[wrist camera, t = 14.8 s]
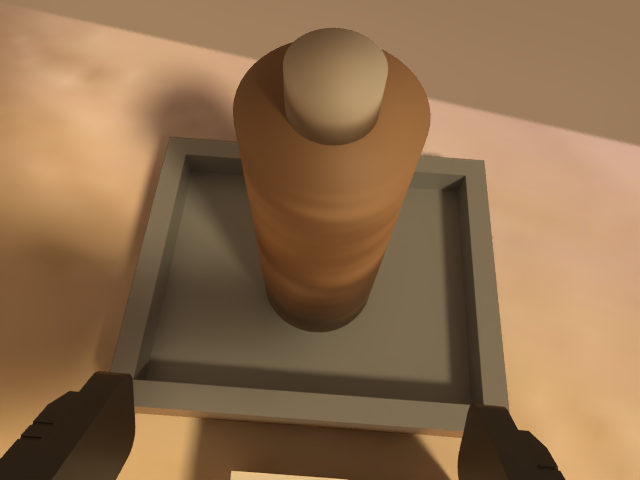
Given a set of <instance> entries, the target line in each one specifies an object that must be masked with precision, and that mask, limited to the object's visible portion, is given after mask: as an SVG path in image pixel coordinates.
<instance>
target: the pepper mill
mask: <svg viewBox="0 0 640 480" xmlns="http://www.w3.org/2000/svg"><path fill="white" fill-rule="evenodd" d="M233 118H234V125H235V130H236V135H237V140H238V146H239V151H240V156H241V161H242V167H243V172H244V177H245V182H246V188H247V193H248V198H249V204H250V209H251V214H252V219H253V225H254V230H255V235H256V240H257V246H258V251H259V256H260V261H261V267H262V272H263V277H264V283H265V288H266V293H267V297H268V299H269V302H270V304H271V306H272V307H273V309H274V310H275V312H276V313H277V314H278V315H279V316H280V317H281V318H282V319H283V320H284V321H285V322H287V323H288V324H290V325H292V326H293V327H296V328H298V329H300V330H304V331H308V332H329V331H333V330H337V329H339V328H342V327H344V326H345V325H347V324H349V323H350V322H351V321H353V320H354V319H355V318H356V317H357V316H358V315H359V314H360V313H361V311H362V310H363V308H364V307H365V305H366V303H367V300H368V298H369V295H370V292H371V290H372V287H373V284H374V281H375V279H376V276H377V273H378V270H379V268H380V265H381V262H382V259H383V257H384V254H385V251H386V248H387V246H388V243H389V240H390V237H391V235H392V232H393V229H394V226H395V224H396V221H397V218H398V215H399V213H400V210H401V207H402V204H403V202H404V199H405V196H406V193H407V191H408V188H409V185H410V182H411V180H412V177H413V174H414V171H415V169H416V166H417V163H418V160H419V158H420V155H421V152H422V149H423V147H424V144H425V141H426V138H427V136H428V132H429V127H430V107H429V102H428V99H427V96H426V93H425V91H424V89H423V87H422V85H421V83H420V82H419V80H418V79H417V77H416V76H415V75H414V74H413V73H412V72H411V70H410V69H409V68H408V67H407V66H406V65H404V64H403V63H402V62H401V61H400V60H398V59H397V58H395V57H394V56H392V55H391V54H389V53H387V52H386V51H384V50H382V49H380V47H379V46H378V45H377V44H376V43H375V42H374V41H372V40H371V39H369V38H368V37H366V36H364V35H362V34H360V33H357V32H354V31H352V30H347V29H340V28H325V29H319V30H315V31H312V32H309V33H307V34H305V35H303V36H301V37H300V38H298V39H297V40H295V41H294V42H292V43H289V44H286V45H284V46H281V47H279V48H277V49H275V50H273V51H271V52H270V53H268V54H267V55H265V56H264V57H262V58H261V59H260V60H258V61H257V62H256V63H255V64H254V65H253V66H252V67H251V68H250V69H249V70H248V71H247V73H246V74H245V76H244V77H243V79H242V80H241V82H240V84H239V86H238V88H237V91H236V95H235V98H234V105H233Z"/></svg>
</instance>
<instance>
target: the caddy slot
mask: <svg viewBox="0 0 640 480" xmlns="http://www.w3.org/2000/svg"><path fill="white" fill-rule="evenodd" d="M230 480H346V479H333V478H320V477H307V476H294V475H280V474H267V473H254V472H241V471H231V478H230Z"/></svg>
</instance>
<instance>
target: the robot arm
mask: <svg viewBox="0 0 640 480" xmlns="http://www.w3.org/2000/svg"><path fill="white" fill-rule="evenodd" d="M134 437H135V410H134V389H133V378H132V376H131V374H127V373H115V372H103V371H97V372H95V373H94V374H93V375H92V377H91V378H90V379H89V380H88V381H87V383H86V384H85V385H84V386H83V388H82V389H81V390H80V391H79V392H74V391H69V392H67V393H66V394H64V395H62V396H61V397H59V398H58V399H56V400H55V401H53V402H51V403H50V404H48V405H47V406H46V407H45V409H44V410H43V411H42V412H41V413H40V414H39V415H38V417H37V418H36V419H35V420H34V421H33V424H32V425H30V426H29V427H28V428H27V429H26V430H25V431H24V433H23V434H22V435H21V438H20V439H17V441H16V442H15V443H14V444H13V445H12V446H11V447H10V449H9V450H8V451H7V452H6V453H5V454H4V455H3V457H2V458H1V459H0V480H116V479H117V477H118V475H119V473H120V471H121V469H122V467H123V466H124V464H125V462H126V460H127V458H128V456H129V454H130V452H131V449H132V446H133V442H134ZM458 478H459V480H565V478H564V477H563V475H562V473H561V471H558V466H557V464H556V463H555V461H554V459H553V458H552V456H551V454H550V452H549V451H548V449H547V448H546V447H545V446H544V445H543V444H542V443H541V442H540V441H539V440H538V439H537V438H536V437H535V436H533V435H532V434H531V433H530V432H529V431H523V430H518V429H517V427H516V425H515V423H514V421H513V419H512V417H511V416H510V414H509V412H508V410H507V409H506V407H504V406H494V405H482V404H471V405H470V407H469V409H468V413H467V417H466V422H465V427H464V432H463V436H462V441H461V446H460V451H459V456H458Z"/></svg>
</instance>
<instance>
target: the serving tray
mask: <svg viewBox="0 0 640 480" xmlns="http://www.w3.org/2000/svg"><path fill="white" fill-rule="evenodd" d="M110 372H115V373H127V374H131V376H132V378H133V389H134V410H135V413H144V414H157V415H170V416H183V417H196V418H210V419H223V420H236V421H249V422H263V423H276V424H289V425H302V426H315V427H329V428H342V429H355V430H368V431H382V432H395V433H408V434H421V435H434V436H448V437H461V438H462V436H463V432H464V427H465V422H466V417H467V413H468V409H469V407H470V405H471V404H482V405H494V406H504V407H506V409H507V410H508V412H509V404H508V394H507V384H506V374H505V364H504V354H503V344H502V334H501V324H500V314H499V304H498V294H497V284H496V274H495V264H494V254H493V244H492V234H491V224H490V214H489V204H488V194H487V184H486V174H485V164H484V160H471V159H458V158H445V157H431V156H420V158H419V160H418V163H417V166H416V169H415V171H414V174H413V177H412V180H411V182H410V185H409V188H408V191H407V193H406V196H405V199H404V202H403V204H402V207H401V210H400V213H399V215H398V218H397V221H396V224H395V226H394V229H393V232H392V235H391V237H390V240H389V243H388V246H387V248H386V251H385V254H384V257H383V259H382V262H381V265H380V268H379V270H378V273H377V276H376V279H375V281H374V284H373V287H372V290H371V292H370V295H369V298H368V300H367V303H366V305H365V307H364V308H363V310H362V311H361V313H360V314H359V315H358V316H357V317H356V318H355V319H354V320H353V321H351V322H350V323H349V324H347V325H345V326H344V327H342V328H339V329H337V330H333V331H329V332H308V331H304V330H300V329H298V328H296V327H293V326H292V325H290V324H288V323H287V322H285V321H284V320H283V319H282V318H281V317H280V316H279V315H278V314H277V313H276V312H275V310H274V309H273V307H272V306H271V304H270V302H269V299H268V297H267V293H266V288H265V283H264V277H263V272H262V267H261V261H260V256H259V251H258V246H257V240H256V235H255V230H254V225H253V219H252V214H251V209H250V204H249V198H248V193H247V188H246V182H245V177H244V172H243V167H242V161H241V156H240V151H239V146H238V142H232V141H219V140H205V139H192V138H179V137H170V138H169V142H168V146H167V150H166V154H165V158H164V162H163V166H162V170H161V174H160V177H159V181H158V185H157V189H156V193H155V197H154V201H153V205H152V209H151V213H150V216H149V220H148V224H147V228H146V232H145V236H144V240H143V244H142V248H141V252H140V256H139V259H138V263H137V267H136V271H135V275H134V279H133V283H132V287H131V291H130V295H129V298H128V302H127V306H126V310H125V314H124V318H123V322H122V326H121V330H120V334H119V337H118V341H117V345H116V349H115V353H114V357H113V361H112V365H111V369H110Z"/></svg>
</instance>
